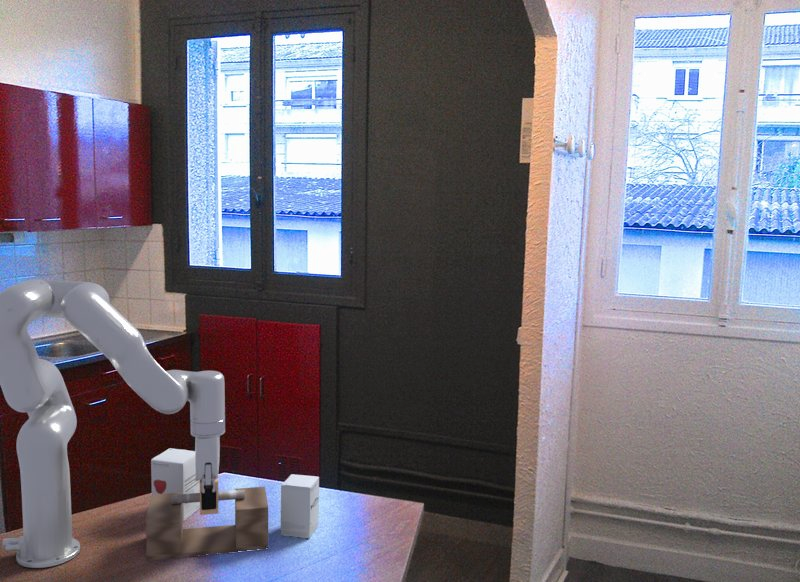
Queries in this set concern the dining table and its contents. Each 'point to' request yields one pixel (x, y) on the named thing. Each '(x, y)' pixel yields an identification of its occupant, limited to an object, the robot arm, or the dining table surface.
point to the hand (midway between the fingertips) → (209, 502)
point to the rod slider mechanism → (177, 542)
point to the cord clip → (215, 511)
